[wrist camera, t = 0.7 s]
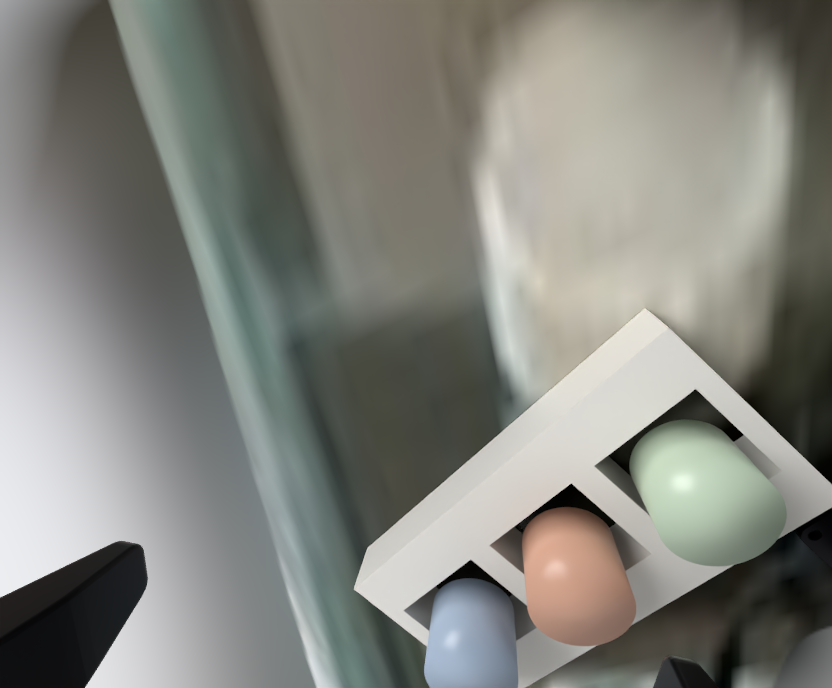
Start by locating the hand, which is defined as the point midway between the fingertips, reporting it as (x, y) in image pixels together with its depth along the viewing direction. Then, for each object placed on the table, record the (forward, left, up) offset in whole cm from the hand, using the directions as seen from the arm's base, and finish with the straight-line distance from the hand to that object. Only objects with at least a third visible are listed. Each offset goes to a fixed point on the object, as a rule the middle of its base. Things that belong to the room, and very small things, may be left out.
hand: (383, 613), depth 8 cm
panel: (-9, +2, -12) cm, 15 cm away
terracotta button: (-9, +2, -10) cm, 13 cm away
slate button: (-9, +7, -10) cm, 15 cm away
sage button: (-9, -4, -10) cm, 14 cm away
